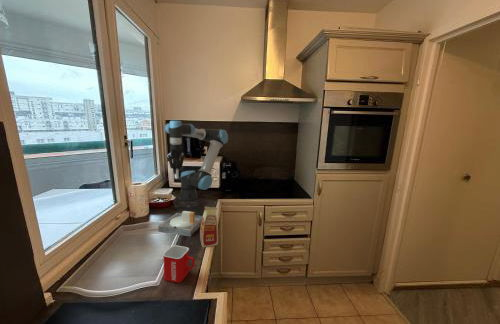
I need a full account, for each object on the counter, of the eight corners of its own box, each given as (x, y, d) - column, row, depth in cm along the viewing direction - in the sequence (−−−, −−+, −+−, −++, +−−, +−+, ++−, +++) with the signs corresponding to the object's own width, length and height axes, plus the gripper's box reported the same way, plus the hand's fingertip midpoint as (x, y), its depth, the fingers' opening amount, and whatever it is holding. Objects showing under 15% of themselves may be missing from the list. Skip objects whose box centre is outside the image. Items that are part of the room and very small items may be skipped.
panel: (176, 217, 143) (176, 212, 142) (205, 221, 139) (205, 215, 139) (158, 231, 124) (158, 225, 123) (190, 236, 120) (190, 230, 119)
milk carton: (202, 247, 110) (202, 210, 106) (199, 238, 118) (199, 204, 115) (220, 244, 113) (220, 208, 110) (215, 236, 122) (216, 202, 118)
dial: (164, 226, 126) (164, 214, 124) (178, 216, 140) (178, 205, 139) (188, 230, 122) (188, 218, 121) (200, 219, 137) (200, 208, 136)
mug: (161, 280, 86) (160, 255, 84) (173, 267, 94) (173, 244, 92) (189, 286, 83) (188, 261, 82) (198, 272, 91) (198, 249, 90)
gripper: (169, 144, 138) (170, 180, 141) (187, 144, 147) (187, 177, 151) (163, 143, 142) (164, 178, 146) (181, 143, 152) (182, 175, 156)
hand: (176, 178), depth 149 cm, fingers closed
